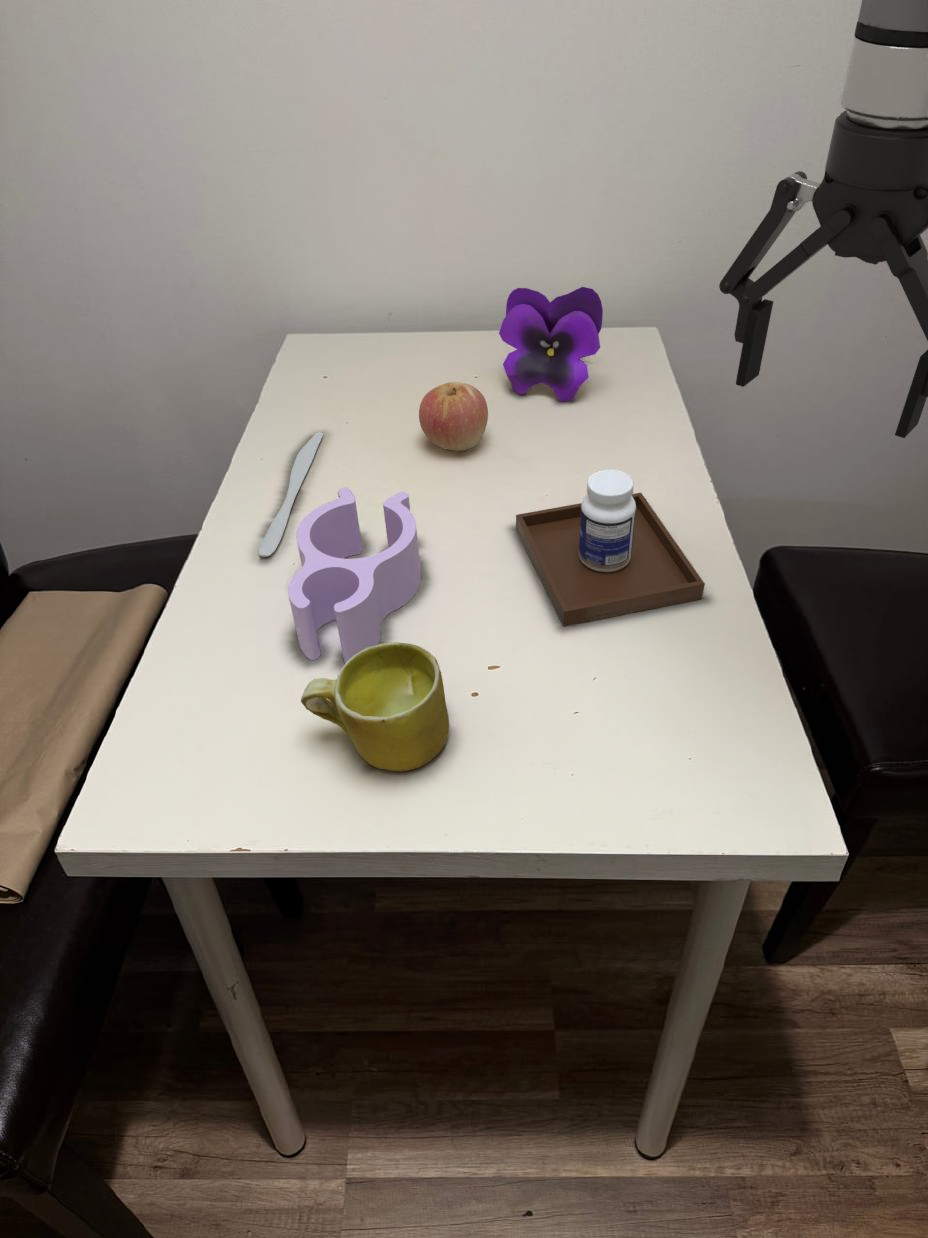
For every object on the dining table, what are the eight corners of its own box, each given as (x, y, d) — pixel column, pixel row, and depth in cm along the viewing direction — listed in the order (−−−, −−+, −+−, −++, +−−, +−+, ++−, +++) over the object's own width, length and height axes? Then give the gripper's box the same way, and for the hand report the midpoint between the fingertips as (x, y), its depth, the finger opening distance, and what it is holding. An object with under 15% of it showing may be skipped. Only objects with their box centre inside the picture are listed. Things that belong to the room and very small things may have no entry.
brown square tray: (702, 599, 93) (705, 583, 91) (563, 626, 91) (563, 611, 89) (639, 506, 105) (641, 492, 104) (515, 529, 103) (515, 514, 102)
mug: (476, 682, 83) (441, 628, 75) (453, 787, 78) (414, 742, 70) (358, 677, 87) (313, 626, 79) (330, 776, 82) (279, 732, 74)
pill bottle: (588, 536, 100) (593, 461, 94) (637, 549, 98) (646, 472, 92) (570, 566, 97) (574, 489, 90) (621, 579, 95) (629, 502, 88)
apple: (474, 466, 113) (472, 409, 108) (410, 454, 116) (405, 398, 110) (498, 432, 119) (497, 377, 114) (437, 421, 122) (433, 367, 116)
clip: (390, 668, 87) (383, 616, 82) (270, 655, 89) (256, 603, 85) (434, 544, 101) (430, 493, 97) (329, 535, 104) (320, 485, 99)
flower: (515, 391, 137) (486, 389, 125) (531, 289, 133) (503, 276, 121) (607, 406, 133) (587, 406, 121) (627, 300, 129) (607, 289, 116)
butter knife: (247, 553, 101) (272, 553, 100) (307, 431, 120) (328, 431, 120) (248, 557, 101) (274, 557, 100) (308, 435, 121) (329, 435, 120)
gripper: (1126, 126, 54) (999, 432, 69) (751, 79, 67) (710, 346, 81) (1091, 157, 50) (964, 475, 65) (700, 100, 63) (666, 377, 77)
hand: (822, 403), depth 73 cm, fingers open, 13 cm apart
